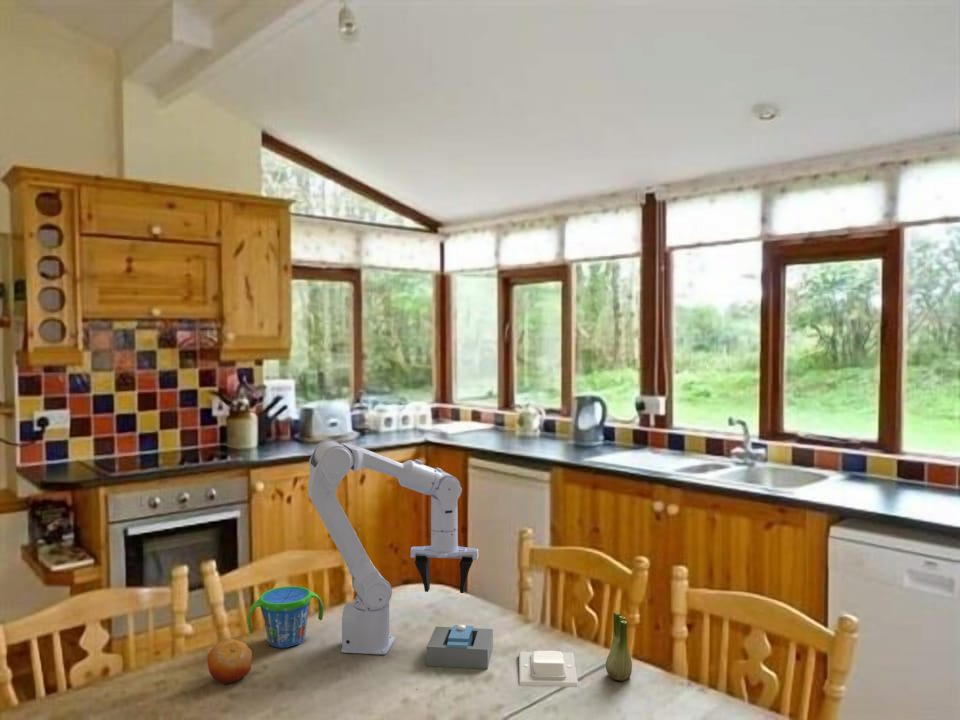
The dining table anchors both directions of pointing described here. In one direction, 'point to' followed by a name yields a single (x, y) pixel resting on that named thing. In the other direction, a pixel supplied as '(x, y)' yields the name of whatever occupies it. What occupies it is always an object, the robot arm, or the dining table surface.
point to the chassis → (460, 649)
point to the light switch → (547, 669)
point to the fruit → (229, 661)
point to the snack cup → (285, 614)
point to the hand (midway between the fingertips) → (444, 591)
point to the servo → (460, 636)
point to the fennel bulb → (619, 651)
